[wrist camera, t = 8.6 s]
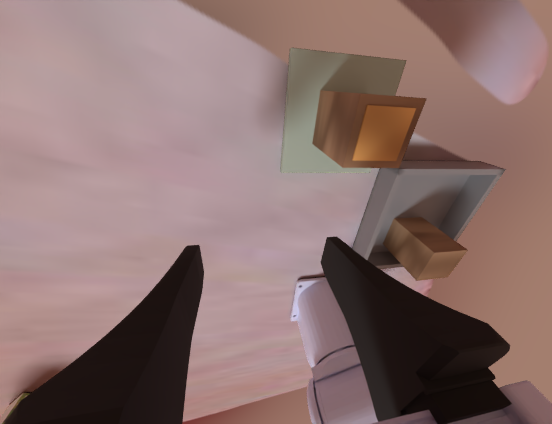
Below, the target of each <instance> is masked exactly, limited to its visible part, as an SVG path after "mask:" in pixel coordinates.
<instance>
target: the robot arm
mask: <svg viewBox="0 0 552 424" xmlns="http://www.w3.org/2000/svg"><path fill="white" fill-rule="evenodd" d="M321 265H322V268H323V271H324V274H325V277H322V278H311V279H301V280H298V281H297V284H296V289H295V295H294V301H293V306H292V312H291V317H290V318H291V321H297V322H298V326H299V330H300V334H301V337H302V341H303V345H304V349H305V353H306V356H307V360H308V362H309V364H310V366H311V367H312V368H311V370H312V373H313V377H314V378H311V379H310V380H309V384H308V388H307V401H308V408H309V412H310V417H311V421H312V424H552V403H551V402H550V401H549V400H548V399H547V398H546V397H545V396H544V395H543V394H542V393H541V392H540V391H539V390H538V389H537V388H536V387H535V386H534V385H533V384H532V383H531V382H529V381H522V382H518V383H514V384H509V385H506V386H503V387H500V388H498V387H497V386H496V384H495V383H494V382H493V381H492V380H494V379H495V376H494V374H493V373H492V372H491V371H490V370H489V369H488V367H489V366H491V365H492V364H493V363H495V362H496V361H498V360H499V359H500V358H502V357H503V356H504V355H505V354H506V353H507V352H508V351H509V349H510V345H509V344H508V343H507V342H506V341H505V340H504V339H503V338H502V337H501V336H500V335H499V334H498V333H497V332H496V331H495V330H494V329H493V328H492V327H491V326H490V325H489V324H487V323H485V322H483V321H480V320H478V319H475V318H473V317H470V316H468V315H465V314H463V313H460V312H458V311H456V310H453V309H451V308H449V307H447V306H445V305H442V304H440V303H438V302H436V301H434V300H432V299H429V298H428V297H426V296H424V295H422V294H420V293H418V292H416V291H414V290H412V289H411V288H409V287H407V286H405V285H404V284H402V283H400V282H399V281H397V280H395V279H394V278H392V277H391V276H389V275H387V274H386V273H384V272H383V271H382V270H380V269H379V268H377V267H376V266H374V265H373V264H372V263H370V262H369V261H367V260H366V259H365V258H364V257H362V256H361V255H360V254H358V253H357V252H356V251H354V250H353V249H352V248H351V247H349V246H348V245H347V244H346V243H344V242H343V241H342V240H340V239H339V238H338V237H327V239H326V243H325V247H324V251H323V255H322V259H321ZM203 278H204V269H203V263H202V258H201V252H200V246H199V245H192V246H186V247H185V249H184V250H183V251H182V253H181V254H180V256H179V257H178V258H177V260H176V261H175V263H174V264H173V265H172V267H171V268H170V269H169V270H168V272H167V273H166V274H165V275H164V277H163V278H162V279H161V280H160V281H159V283H158V284H157V285H156V286H155V287H154V288H153V289H152V291H151V292H150V293H149V294H148V295H147V296H146V297H145V298H144V299H143V300H142V302H141V303H140V304H139V305H138V306H137V307H136V308H135V309H134V310H133V311H132V312H131V313H130V314H129V315H128V316H126V317H125V318H124V319H123V320H122V321H121V322H120V323H119V324H118V325H117V326H116V327H115V328H113V329H112V330H111V331H110V332H109V333H108V334H107V335H106V336H104V337H103V338H102V339H101V340H100V341H98V342H97V343H96V344H95V345H94V346H92V347H91V348H90V349H89V350H87V351H86V352H85V353H84V354H83V355H81V356H80V357H79V358H78V359H76V360H75V361H74V362H73V363H71V364H70V365H69V366H67V367H66V368H65V369H63V370H62V371H61V372H59V373H58V374H57V375H55V376H54V377H53V378H51V379H50V380H48V381H47V382H46V383H44V384H43V385H42V386H40V387H39V388H38V389H36V390H35V391H33V392H32V393H31V394H29V395H28V396H26V397H25V398H24V399H22V400H21V401H20V402H19V404H18V405H17V406H16V408H15V409H14V410H13V412H12V413H11V414H10V416H9V417H8V419H7V420H6V422H5V423H4V424H182V421H183V410H184V400H185V390H186V381H187V373H188V364H189V356H190V348H191V341H192V335H193V330H194V326H195V321H196V317H197V312H198V308H199V303H200V298H201V294H202V288H203Z"/></svg>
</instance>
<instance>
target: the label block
mask: <svg viewBox="0 0 552 424" xmlns="http://www.w3.org/2000/svg"><path fill="white" fill-rule="evenodd" d="M425 101H426V99H425V98H413V97H401V96H388V95H375V94H363V93H349V92H336V91H323V90H320V96H319V103H318V109H317V116H316V122H315V129H314V135H313V142H312V144H313V145H314V146H316V147H317V148H318V149H319V150H321V151H322V152H323V153H324V154H326V155H327V156H328V157H330V158H331V159H332V160H333V161H335V162H336V163H337V164H338V165H340V166H341V167H342V168H399V167H400V164H401V162H402V159H403V157H404V154H405V152H406V149H407V147H408V144H409V142H410V139H411V137H412V134H413V131H414V129H415V126H416V124H417V121H418V119H419V116H420V114H421V111H422V109H423V106H424V104H425Z"/></svg>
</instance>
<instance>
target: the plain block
mask: <svg viewBox="0 0 552 424" xmlns="http://www.w3.org/2000/svg"><path fill="white" fill-rule="evenodd" d="M383 245H384V246H385V247H386V248H387V249H388V250H389V251H390V252H391V253H392V255H393V256H394V257H395V258H396V259H397V260H398V261H399V262H400V263H401V264H402V265H403V266H404V268H405V269H406V270H407V271H408V272H409V273H410V274H411V275H412V276H413V277H414V278H415V280H416V281H418V280H427V279H436V278H445V277H448V276H449V275H450V273H451V272H452V271H453V269H454V268H455V267H456V265H457V264H458V263H459V261H460V260H461V259H462V257H463V256H464V255H465V253H466V252H467V251H468V250H467V249H466V248H464V247H463V246H461V245H460V244H459V243H457V242H456V241H455V240H453V239H452V238H450V237H449V236H448V235H446V234H445V233H443V232H442V231H441V230H439V229H438V228H436V227H435V226H434V225H432V224H431V223H429V222H428V221H427V220H425V219H424V218H422V217H416V218H394V219H393V222H392V224H391V226H390V228H389V231H388V233H387V235H386V237H385V240H384V242H383Z"/></svg>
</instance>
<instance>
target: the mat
mask: <svg viewBox="0 0 552 424" xmlns="http://www.w3.org/2000/svg"><path fill="white" fill-rule="evenodd" d="M405 64H406V60H397V59H388V58H380V57H371V56H361V55H353V54H344V53H335V52H326V51H316V50H308V49H299V48H291V49H290V53H289V66H288V78H287V91H286V104H285V116H284V129H283V142H282V154H281V167H280V171H281V173H370V171H371V168H342V167H341V166H340V165H338V164H337V163H336V162H335V161H333V160H332V159H331V158H330V157H328V156H327V155H326V154H324V153H323V152H322V151H321V150H319V149H318V148H317V147H316V146H314V145H313V144H312V142H313V135H314V129H315V122H316V116H317V109H318V103H319V96H320V90H323V91H336V92H349V93H363V94H375V95H388V96H395V94H396V91H397V88H398V85H399V82H400V79H401V76H402V73H403V69H404V66H405Z"/></svg>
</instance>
